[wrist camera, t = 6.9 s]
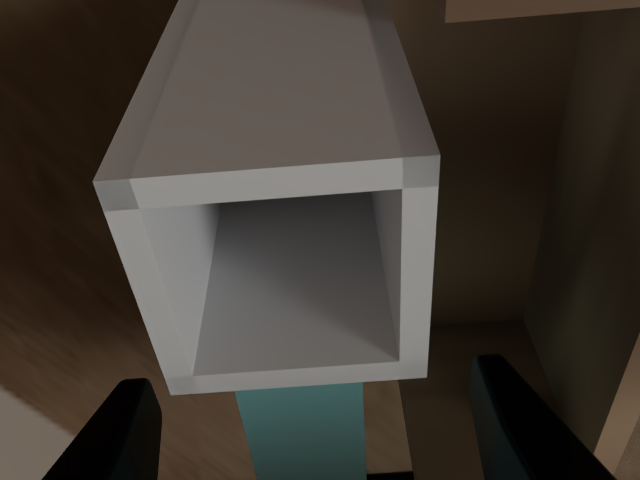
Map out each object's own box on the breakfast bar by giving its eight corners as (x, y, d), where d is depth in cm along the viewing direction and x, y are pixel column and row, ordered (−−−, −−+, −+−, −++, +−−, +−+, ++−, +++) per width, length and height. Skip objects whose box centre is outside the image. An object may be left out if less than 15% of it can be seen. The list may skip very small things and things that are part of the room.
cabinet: (525, 294, 18) (607, 488, 13) (261, 314, 18) (248, 511, 13) (612, -147, 11) (850, -70, 6) (181, -109, 11) (95, -5, 6)
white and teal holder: (373, 333, 16) (411, 622, 11) (266, 340, 16) (252, 632, 11) (364, -60, 10) (440, 154, 5) (194, -45, 10) (80, 182, 5)
